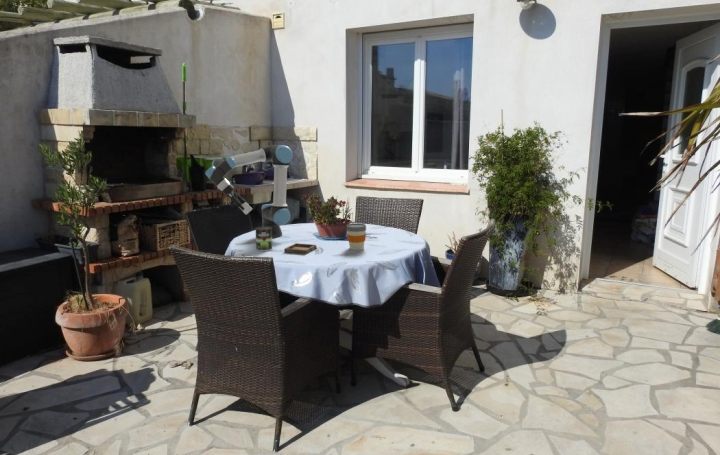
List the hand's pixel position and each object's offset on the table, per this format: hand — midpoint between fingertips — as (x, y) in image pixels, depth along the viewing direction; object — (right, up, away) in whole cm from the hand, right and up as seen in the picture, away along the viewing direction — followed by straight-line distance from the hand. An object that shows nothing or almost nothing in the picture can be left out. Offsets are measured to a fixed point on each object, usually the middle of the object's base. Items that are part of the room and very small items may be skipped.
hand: (249, 211), depth 337 cm
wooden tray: (+33, -25, -3) cm, 41 cm away
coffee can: (+9, -24, +1) cm, 26 cm away
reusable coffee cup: (+69, -24, 0) cm, 73 cm away
